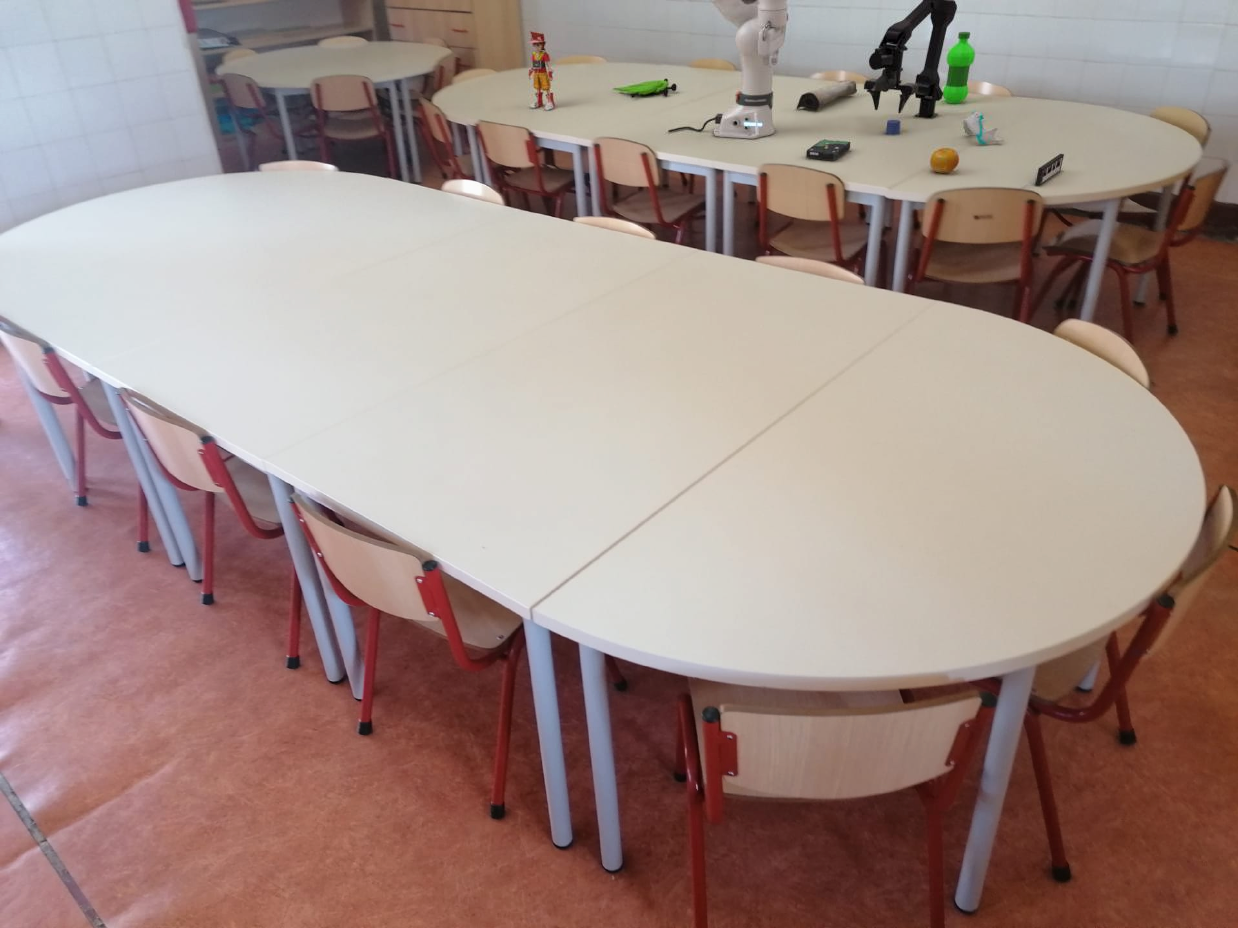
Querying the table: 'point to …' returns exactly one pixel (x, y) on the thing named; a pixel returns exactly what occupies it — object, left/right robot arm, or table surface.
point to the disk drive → (828, 149)
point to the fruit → (944, 160)
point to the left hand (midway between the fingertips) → (770, 67)
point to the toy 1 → (541, 71)
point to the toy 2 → (648, 88)
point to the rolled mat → (826, 94)
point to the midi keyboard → (1049, 169)
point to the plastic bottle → (958, 69)
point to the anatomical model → (979, 129)
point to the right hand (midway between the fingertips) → (887, 111)
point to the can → (893, 127)
